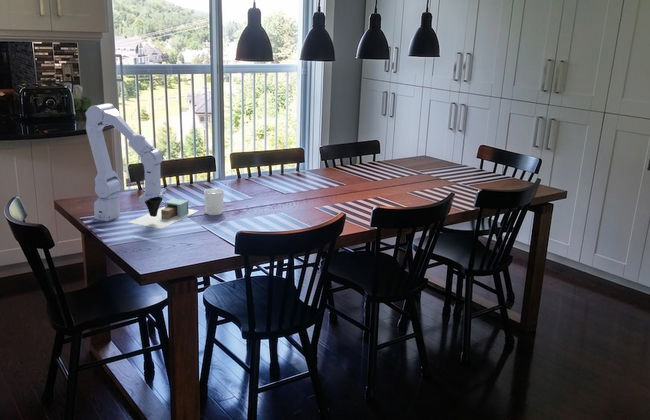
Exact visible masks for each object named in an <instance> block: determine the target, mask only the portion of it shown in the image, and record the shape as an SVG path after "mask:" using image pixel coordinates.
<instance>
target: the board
mask: <svg viewBox="0 0 650 420" xmlns="http://www.w3.org/2000/svg"><path fill="white" fill-rule="evenodd" d="M164 208H165V206H163V207H159V208H158V212H157V216H155V217H153V216H150V213H149V212H148V213H146V214H144V215H142V216H139V217H136V218H135V219H132V220H130V221H128V222H127V223H128V224H134V225H139V226H144V227H149V228H155V229H159V230H160V229H161V230H162V229H164V228H166V227H168V226H170V225H172V224H174V223H176V222H179V221H181V220H183V219H185V218H187V217H188V216H192V215H193V214H195V213H197V212H199V210H198V209H197V210H196V209H192V208H191V209H190V208H188V210H189V213H187V214H185V215H183V216H181V217H179V216H178V215H177V216H175V217H173V218H170V219H168V220H167V219H162V218H161V210H162V209H164Z"/></svg>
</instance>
